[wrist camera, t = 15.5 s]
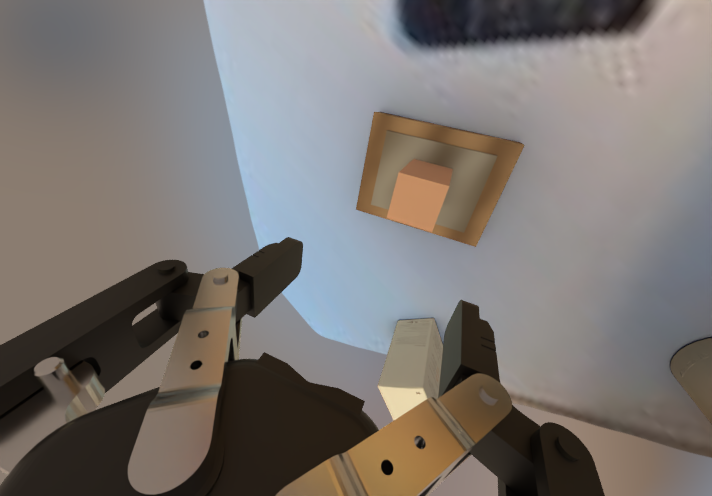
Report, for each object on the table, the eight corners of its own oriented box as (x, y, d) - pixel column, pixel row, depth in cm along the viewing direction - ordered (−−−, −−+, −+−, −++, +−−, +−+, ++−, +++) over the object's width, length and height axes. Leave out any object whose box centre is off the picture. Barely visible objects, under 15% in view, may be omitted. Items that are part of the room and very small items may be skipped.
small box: (397, 319, 45) (375, 385, 34) (434, 317, 42) (424, 388, 31) (411, 354, 47) (395, 426, 37) (446, 355, 45) (441, 433, 34)
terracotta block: (453, 169, 29) (449, 186, 22) (439, 206, 31) (432, 232, 24) (413, 158, 30) (398, 172, 23) (402, 195, 32) (386, 218, 25)
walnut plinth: (520, 142, 28) (525, 145, 26) (475, 238, 34) (475, 248, 32) (380, 112, 32) (372, 111, 29) (362, 204, 38) (354, 210, 35)
